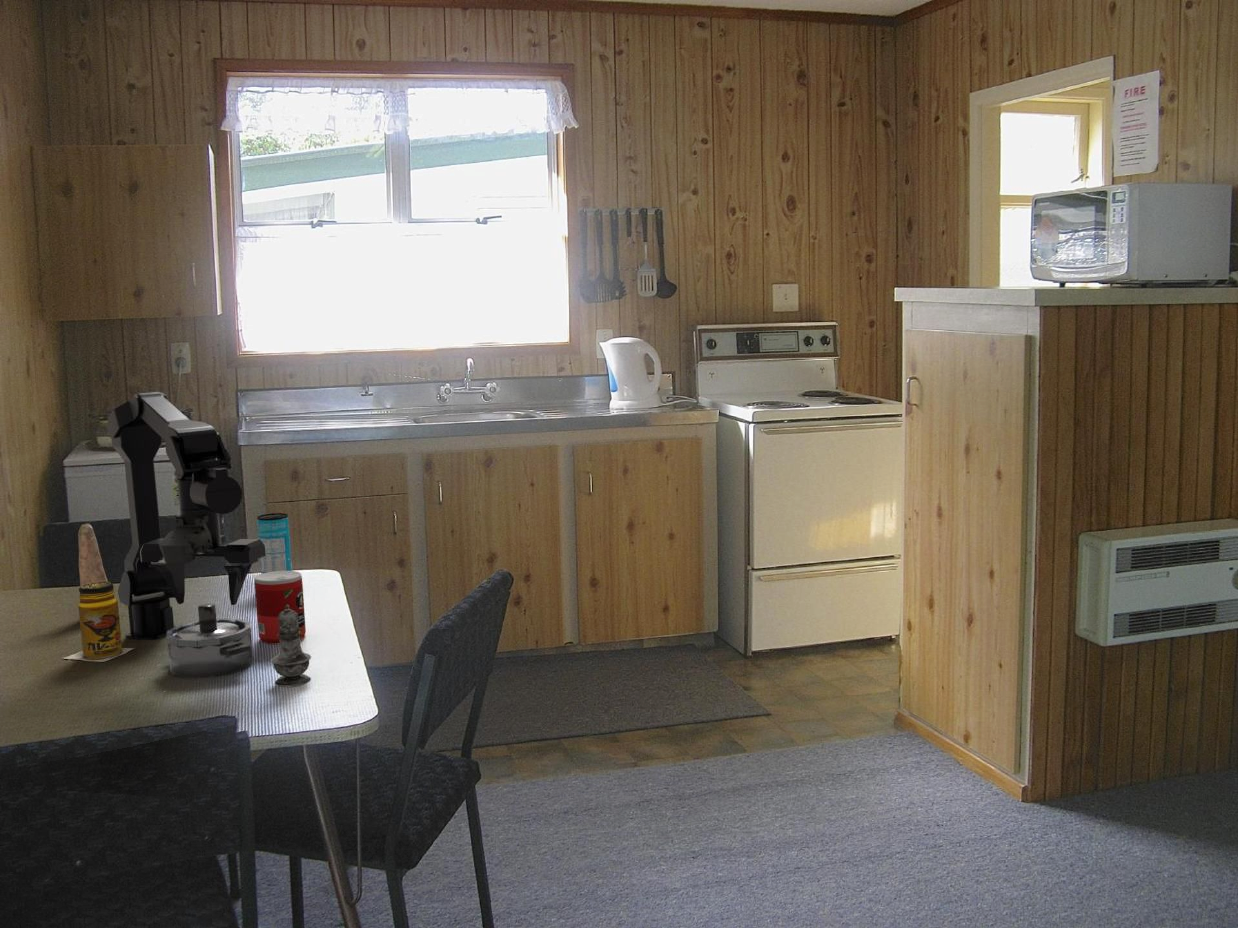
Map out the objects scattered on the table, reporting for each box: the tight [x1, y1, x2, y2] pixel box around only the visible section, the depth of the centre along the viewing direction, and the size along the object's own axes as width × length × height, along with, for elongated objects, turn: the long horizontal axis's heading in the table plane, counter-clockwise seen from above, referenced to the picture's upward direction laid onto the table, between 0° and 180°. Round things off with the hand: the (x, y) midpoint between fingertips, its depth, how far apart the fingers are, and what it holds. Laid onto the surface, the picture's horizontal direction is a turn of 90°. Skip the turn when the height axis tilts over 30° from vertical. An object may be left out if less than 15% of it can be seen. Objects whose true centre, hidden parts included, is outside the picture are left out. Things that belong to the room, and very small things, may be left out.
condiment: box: [62, 581, 136, 663], centre depth 204 cm, size 7×8×12 cm
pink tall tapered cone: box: [77, 523, 109, 588], centre depth 228 cm, size 6×18×6 cm
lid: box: [178, 603, 239, 639], centre depth 195 cm, size 9×9×5 cm
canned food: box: [254, 570, 307, 645], centre depth 210 cm, size 8×8×11 cm
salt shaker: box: [270, 604, 312, 688], centre depth 185 cm, size 6×6×12 cm
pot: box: [165, 617, 254, 679], centre depth 195 cm, size 18×13×6 cm
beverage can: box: [256, 512, 293, 574], centre depth 245 cm, size 6×6×15 cm
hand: (207, 604), depth 194 cm, fingers open, 9 cm apart
